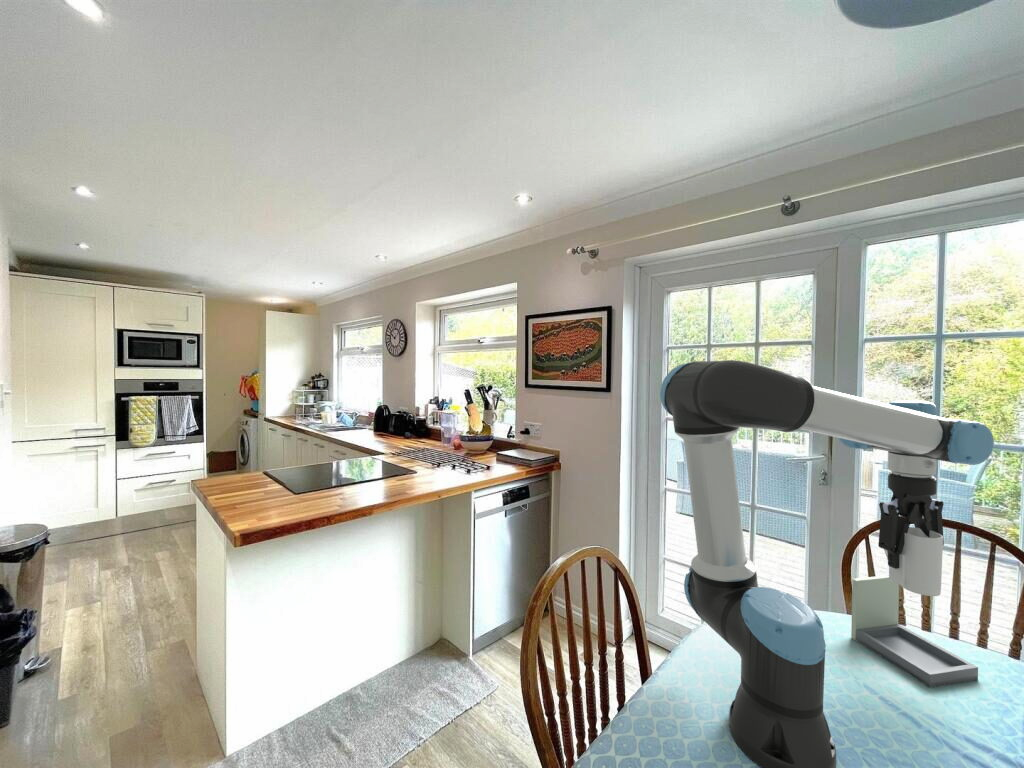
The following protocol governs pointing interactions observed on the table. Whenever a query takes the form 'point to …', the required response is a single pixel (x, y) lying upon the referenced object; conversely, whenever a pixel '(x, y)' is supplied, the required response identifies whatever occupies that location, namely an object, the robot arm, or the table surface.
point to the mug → (922, 562)
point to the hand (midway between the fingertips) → (910, 580)
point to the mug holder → (901, 636)
